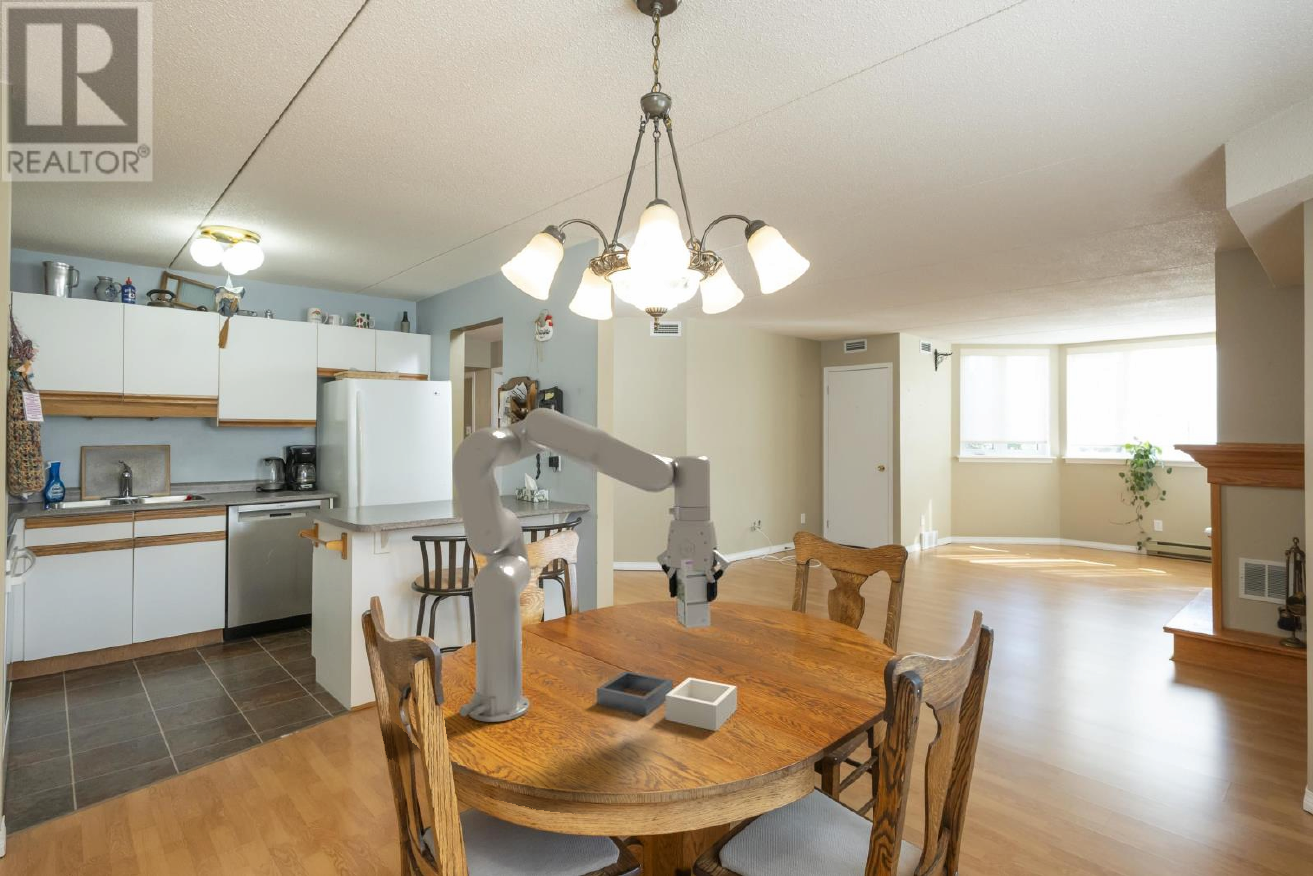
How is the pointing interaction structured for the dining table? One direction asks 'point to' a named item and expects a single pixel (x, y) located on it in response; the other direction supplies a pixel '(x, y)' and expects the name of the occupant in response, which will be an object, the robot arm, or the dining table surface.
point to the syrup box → (692, 596)
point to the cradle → (701, 703)
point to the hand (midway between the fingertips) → (693, 597)
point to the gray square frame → (627, 702)
